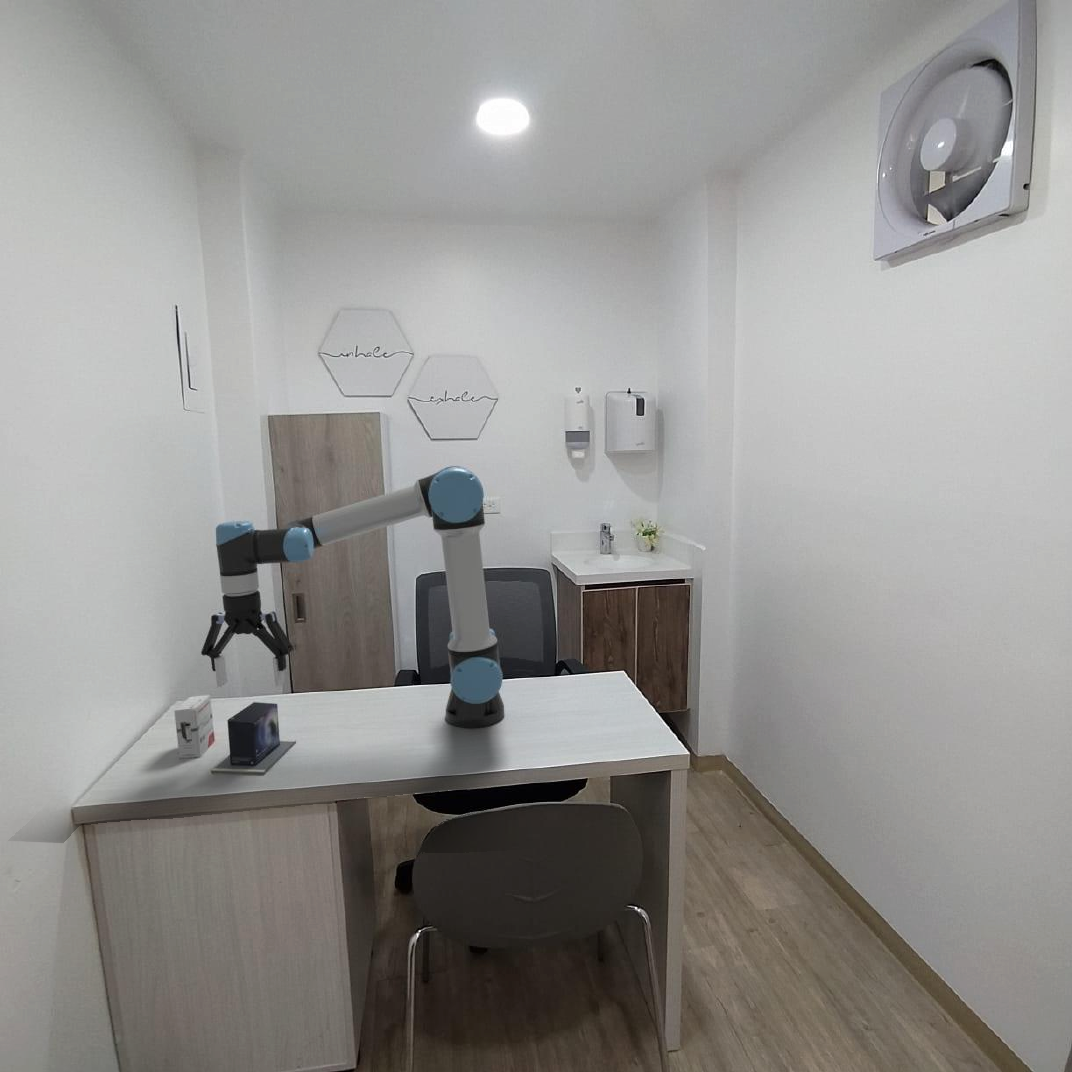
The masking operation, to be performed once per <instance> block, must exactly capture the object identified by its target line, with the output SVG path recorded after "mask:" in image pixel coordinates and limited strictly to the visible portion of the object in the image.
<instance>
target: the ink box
mask: <svg viewBox="0 0 1072 1072" xmlns="http://www.w3.org/2000/svg"><path fill="white" fill-rule="evenodd" d="M173 711H174V720H175V728H176V730H175V731H176V739H177V748H178V749H177V750H178V757H179V759H184V758H185V759H187V758H188V759H189V758H190V759H191V758H201V757H202V756H203V754H204V753H206V752H207V750H208V749H209V748H210V747H211V746H212V745H213V743H214V742H215V741H216V740H215V732H214V731H215V730H214V720H213V719H214V718H213V709H212V701H211V695H209V694H208V695H207V694H204V695H196V696H190V697H188V698H187V699H186V700H185V701H183V702H182V703H181V704H180V705H179V706H178V707H177V708H176V709H175V710H173Z"/></svg>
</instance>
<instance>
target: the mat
mask: <svg viewBox="0 0 1072 1072" xmlns="http://www.w3.org/2000/svg"><path fill="white" fill-rule="evenodd" d="M296 743H297V740H296V739H280V746H278V747H277V748H276V749H275V750H273V751H272V752H271V753H270V754H269V755H268V756H266V757H265V758H264V759H263V760H262V761H260V762H259V763H258V764H257V765H256V766H247V765H231V764H230V754H229V755H228V756H226V757H225V758H224V759H223V760H222V761H220V763H218V764H217V765H216V766H214V767H213V768H212V769H211V770H210V773H211V774H224V775H229V774H231V775H252V776H253V775H255V776H256V775H258V776H260V775H261V776H264V775H266V773H267V772H269V770H271V768H272V767H273V766H275V764H277V762H279V760H280V759H282V757H284V756H285V754H286V753H287V752H289V750H291V748H293V746H294V745H296Z"/></svg>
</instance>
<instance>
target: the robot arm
mask: <svg viewBox="0 0 1072 1072" xmlns="http://www.w3.org/2000/svg"><path fill="white" fill-rule="evenodd" d="M484 495H485V494H484V488H483V485H482V482H481V481H480V479H479V478H478V476H477V475H476V474H475V473H474V472H472V471H471V470H469V469H467V468H465V467H463V466H457V465H453V466H452V465H451V466H448V467H445V468H443V469H441V470H439V471H437V472H435V473H433V474H431V475H429V476H426V477H423V478H420V479H416V481H415V483H414V484H413V485H411V486H408V487H405V488H402V489H398V490H394V491H392V492H389V493H384V494H381V495H378V496H375V497H373V498H372V497H371V498H368V499H365V500H363V501H359V502H358V501H357V502H356V503H352V504H349V505H346V506H345V505H344V506H342V507H339V508H338V507H337V508H335V509H333V510H329V511H326V512H321V513H319V514H316V515H313V516H311V517H306V518H303V519H298V520H293V521H291V522H289V523H287V524H286V525H284V526H282V527H280V528H274V529H273V528H272V529H255V527H254V525H253V523H252V522H251V521H249V520H247V521H246V520H243V521H242V520H239V521H238V520H237V521H228V522H227V521H226V522H222V523H219V524H218V525H217V526H216V528H215V541H216V542H215V543H216V544H215V547H216V550H217V551H216V552H217V560H218V567H219V578H220V579H219V580H220V588H221V593H222V594H223V595H222V605H223V611H224V612H225V614H223V613H222V612H218V613H215V614H213V615H211V618H210V624H211V625H210V628H209V630H208V633H207V635H206V638H205V640H204V644H203V646H202V649H201V652H200V653H201V654H200V655H202V656H204V657H205V656H207V657H209V658H210V661H211V669H212V672H215V679H216V685H217V686H216V687H217V688H218V687H219V688H221V687H223V686H224V685H225V684H227V683H228V677H227V675H228V674H227V668H226V659H225V654H222V652H223V651H224V649H225V648H226V646H227V645H228V644H229V642H230V641H231V639H233V636H234V635H235V634H236V635H242V634H243V635H244V634H245V635H250V634H252V635H253V636H255V637H257V638H258V639H259V640H260V641H261V642H262V643H263V644H264V646H266V647H267V648H268V649H269V651H270V652H271V653H272V654H273V655H274V657H272V666H273V676H274V684H275V688H277V687H280V686H281V685H283V684H284V683H285V681H286V680H285V673H284V672H285V670H286V669H287V659H286V656H287V655H289V654H290V653H291V652H293V651H294V649H295V648H294V647H293V645H292V643H291V642H290V639H289V638H288V636H287V635H286V633H285V632H284V630H283V628H282V626H281V625H280V623H279V621H278V617H277V614H276V611H270V612H269V613H263V612H262V610H261V609H262V601H261V592H260V591H259V590H258V589H259V588H260V585H259V584H260V583H259V574H258V573H259V572H258V565H264V564H265V565H266V564H267V565H268V564H282V563H283V564H284V563H285V564H287V563H293V564H296V563H300V562H308V561H310V560H312V558H313V556H314V550H316V549H318V548H321V547H323V546H324V547H325V546H327V545H330V544H333V543H337V542H340V541H343V540H346V539H350V538H354V537H357V536H359V535H360V536H361V535H363V534H366V533H369V532H373V531H376V530H380V529H383V528H387V527H389V526H392V525H396V524H399V523H403V522H406V521H409V520H413V519H416V518H419V517H422V516H423V517H424V516H425V517H428V519H429V518H432V524H433V525H432V526H433V530H434V532H435V533H437V534H438V535H440V537H441V546H442V553H443V560H444V571H445V578H446V588H447V597H448V604H449V613H450V614H449V615H450V621H451V632H450V634H449V640H448V643H447V653H448V661H449V669H450V686H451V689H450V692H449V696H448V700H447V703H446V706H445V719H446V721H447V722H448V723H449V724H450V725H453V726H455V727H460V728H473V729H474V728H482V727H486V726H487V727H488V726H491V725H493V724H496V723H499V722H500V721H501V720H502V719H503V718H504V717H505V705H504V701H503V699H502V697H501V694H500V690H501V687H502V685H503V678H504V676H503V675H504V674H503V671H502V668H501V662H500V654H499V653H500V652H499V645H498V644H499V643H498V638H497V637H496V633H495V631H494V629H493V628H490V622H489V612H488V604H487V595H486V584H485V575H484V574H485V573H484V566H483V565H484V564H483V556H482V547H481V538H480V532H481V530H482V529H483V527H484V526H485V525H486V522H485V512H484ZM262 621H263V622H264V624H266V625H267V627H266V626H265V625H264V624H263V623H262ZM223 623H225V624H227V628H226V629H225V630H224V632H223V635H222V636H221V637H220V639H219V640H218V641H217V639H218V637H219V636H220V635H219V634H220V631H221V629H222V627H223ZM267 628H268V630H269V631H270V632H269V631H268V630H267ZM216 642H217V643H216Z"/></svg>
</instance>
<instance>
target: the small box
mask: <svg viewBox="0 0 1072 1072" xmlns="http://www.w3.org/2000/svg"><path fill="white" fill-rule="evenodd" d="M226 721H227V732H228V743H229V745H228V746H229V747H228V748H229V755H230V764H231V765H247V766H256V765H257V764H258V763H259V762H260V761H262V760H263V759H264V758H265V757H266V756H268V755H269V754H270V753H271V752H272V751H273V750H275V749H276V748H277V747H278V746H280V740H281V739H280V738H281V737H280V725H279V711H278V703H271V702H270V703H269V702H258V701H257V702H255V701H253V702H252V703H251V704H249V705H248V706H246V707H244V708H243V709H242V710H241V711H239V712H237V713H236V714H234V715H233V716H231V717H229V718H228V719H227V720H226Z"/></svg>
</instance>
